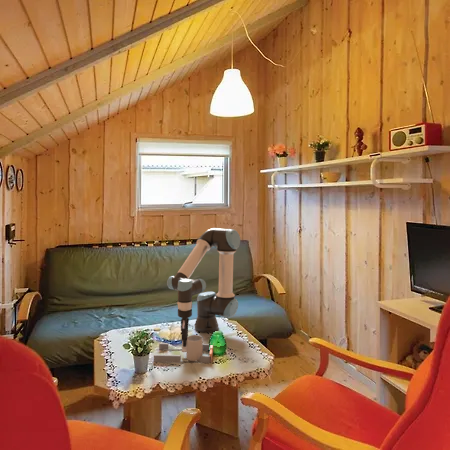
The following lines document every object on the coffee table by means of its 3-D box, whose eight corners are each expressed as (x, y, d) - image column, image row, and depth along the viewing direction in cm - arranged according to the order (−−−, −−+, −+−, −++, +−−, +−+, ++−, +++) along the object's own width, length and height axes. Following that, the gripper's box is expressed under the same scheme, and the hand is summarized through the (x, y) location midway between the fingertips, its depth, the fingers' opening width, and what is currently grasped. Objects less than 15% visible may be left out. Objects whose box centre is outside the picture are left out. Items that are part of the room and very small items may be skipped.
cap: (210, 348, 214) (210, 347, 214) (210, 345, 218) (210, 344, 218) (212, 349, 214) (212, 347, 214) (212, 345, 218) (212, 344, 218)
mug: (204, 360, 212) (204, 340, 210) (188, 362, 209) (188, 341, 208) (198, 351, 223) (198, 331, 222) (183, 352, 220) (183, 333, 219)
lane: (153, 361, 209) (153, 352, 209) (159, 349, 225) (159, 340, 225) (211, 363, 208) (211, 353, 208) (213, 350, 224) (213, 341, 224)
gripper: (179, 304, 220) (179, 346, 223) (175, 312, 208) (176, 356, 210) (193, 305, 220) (193, 346, 223) (190, 312, 207) (190, 356, 210)
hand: (184, 351), depth 216 cm, fingers closed
